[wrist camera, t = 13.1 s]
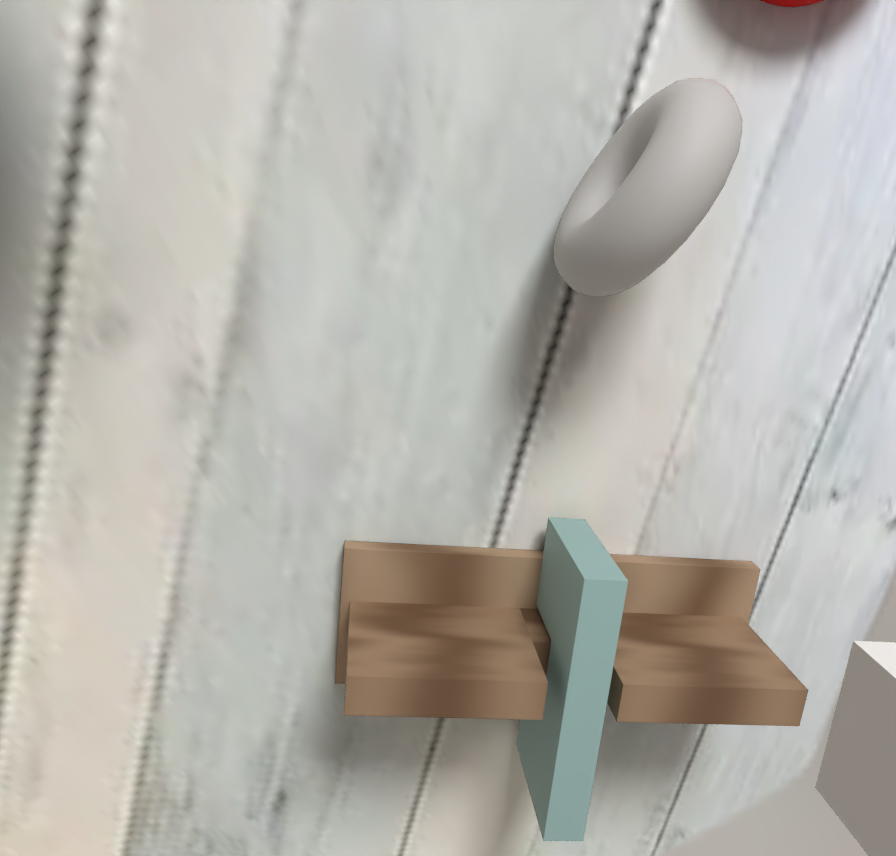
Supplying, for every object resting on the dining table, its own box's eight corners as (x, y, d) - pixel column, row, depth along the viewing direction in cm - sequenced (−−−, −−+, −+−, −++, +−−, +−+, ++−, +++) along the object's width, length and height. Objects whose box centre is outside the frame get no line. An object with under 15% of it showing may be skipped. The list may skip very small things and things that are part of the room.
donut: (576, 299, 39) (642, 327, 30) (520, 261, 39) (570, 278, 29) (694, 123, 38) (806, 93, 28) (639, 79, 37) (734, 34, 27)
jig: (335, 672, 44) (328, 771, 36) (345, 540, 42) (339, 615, 34) (725, 684, 47) (795, 778, 39) (751, 561, 44) (831, 634, 37)
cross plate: (550, 744, 45) (583, 841, 38) (516, 744, 45) (543, 840, 38) (585, 519, 42) (628, 580, 35) (548, 517, 41) (584, 578, 34)
